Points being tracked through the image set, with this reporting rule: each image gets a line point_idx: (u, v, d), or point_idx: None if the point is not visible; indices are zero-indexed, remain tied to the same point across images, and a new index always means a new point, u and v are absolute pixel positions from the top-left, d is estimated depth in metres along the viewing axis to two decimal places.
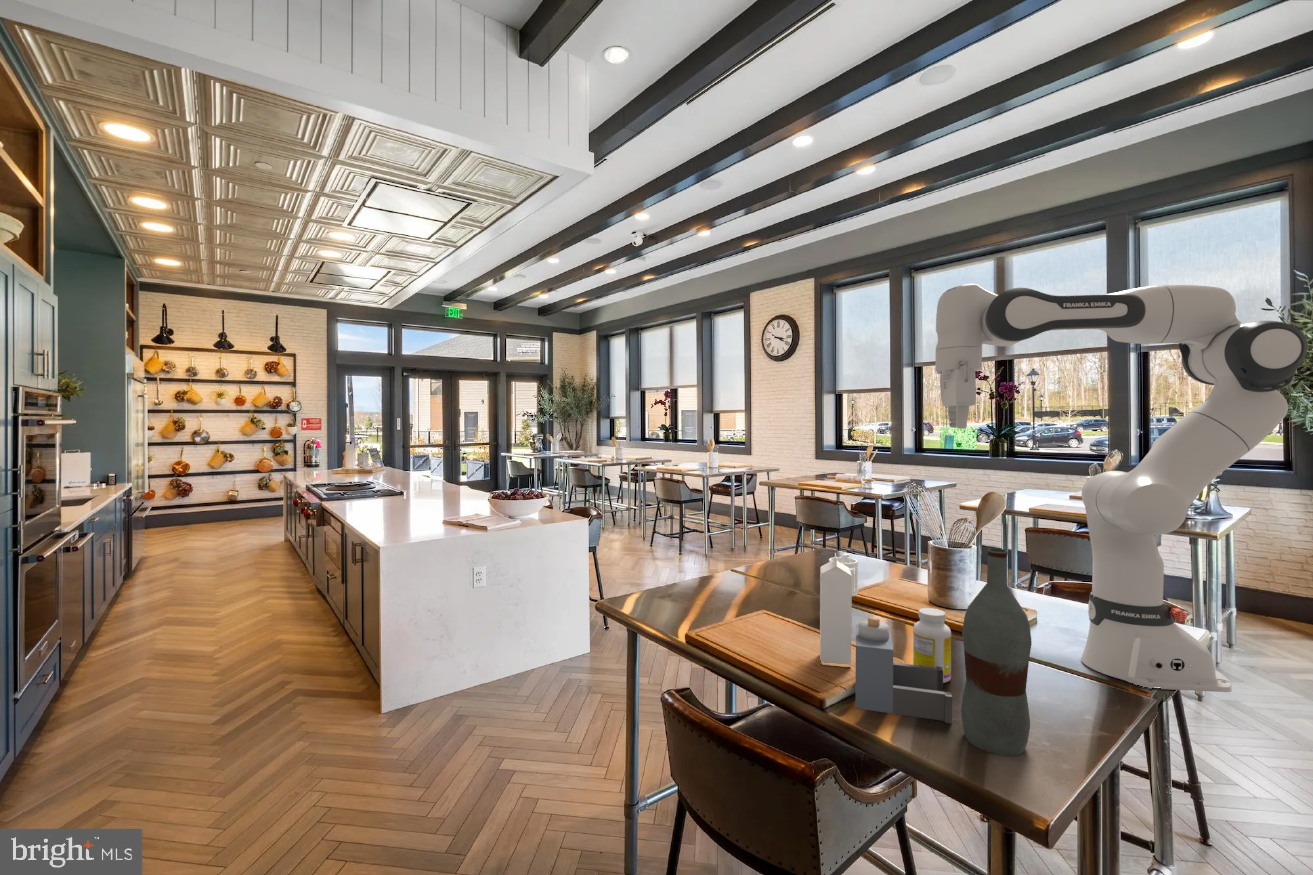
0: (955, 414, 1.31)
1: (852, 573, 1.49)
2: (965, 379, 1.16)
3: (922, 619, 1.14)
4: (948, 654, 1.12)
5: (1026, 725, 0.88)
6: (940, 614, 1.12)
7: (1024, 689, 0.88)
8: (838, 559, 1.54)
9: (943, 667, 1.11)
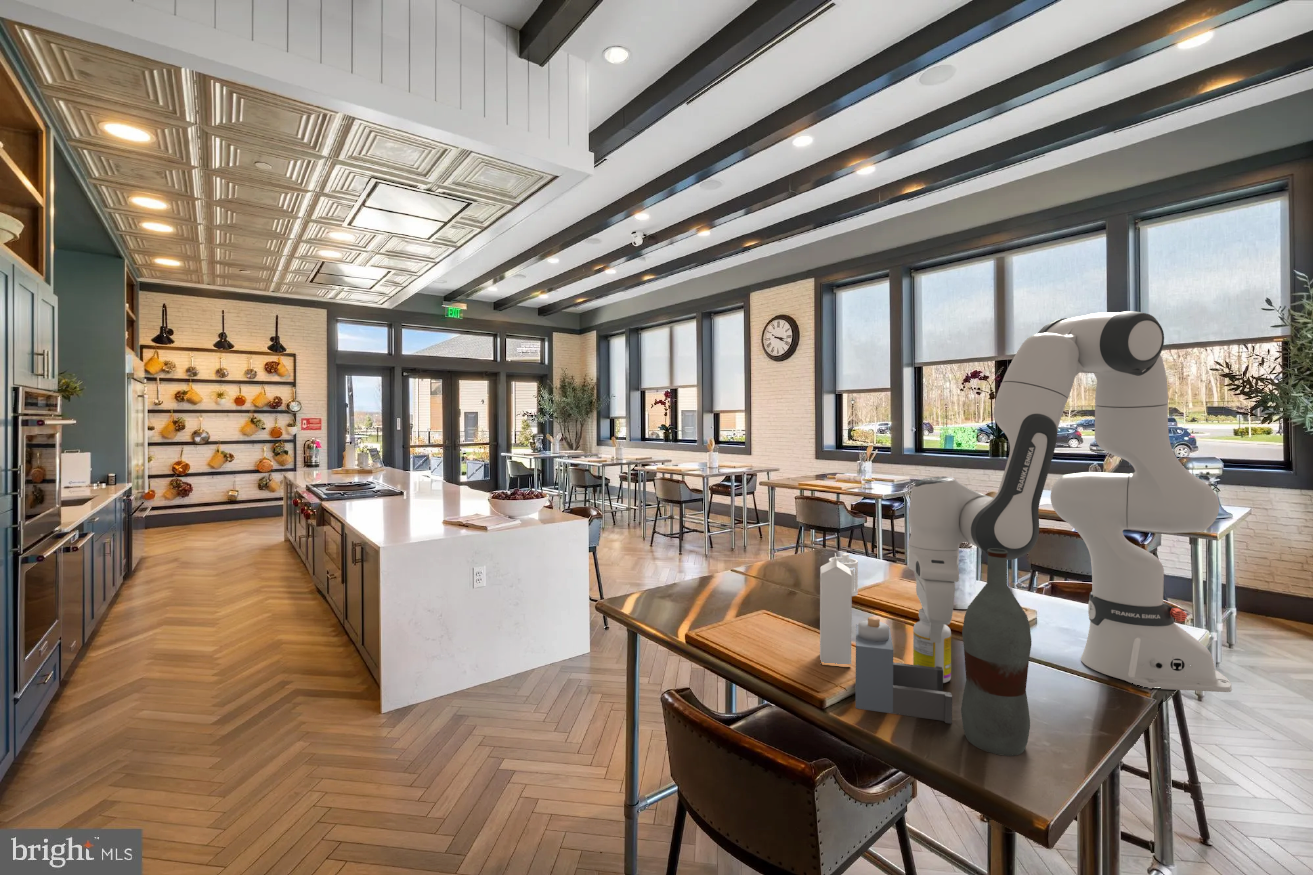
0: None
1: (852, 573, 1.49)
2: None
3: (922, 619, 1.14)
4: (948, 654, 1.12)
5: (1026, 725, 0.88)
6: None
7: (1024, 689, 0.88)
8: (838, 559, 1.54)
9: (943, 667, 1.11)
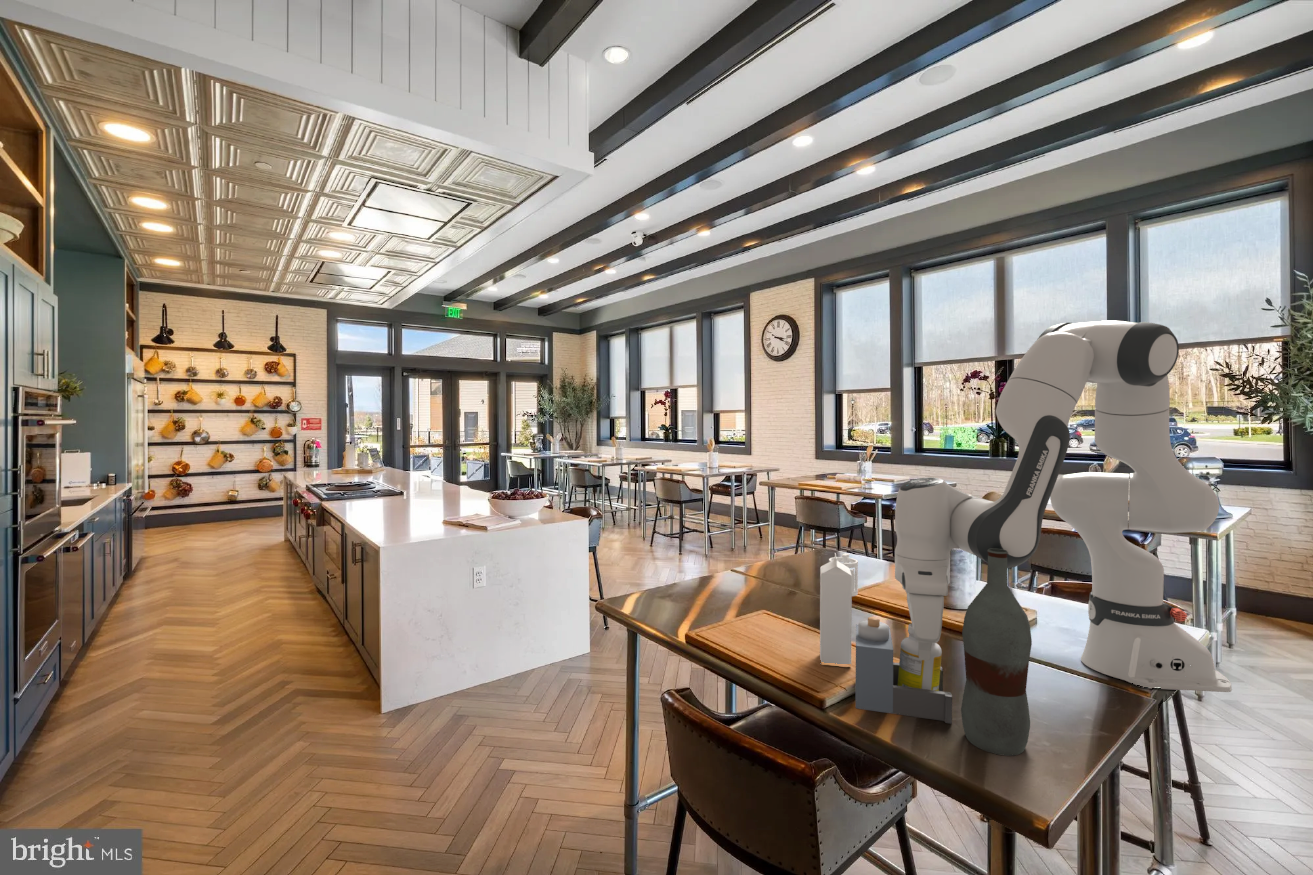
0: None
1: (852, 573, 1.49)
2: None
3: (911, 634, 1.04)
4: (937, 675, 1.02)
5: (1027, 725, 0.88)
6: None
7: (1024, 689, 0.88)
8: (838, 559, 1.54)
9: (931, 688, 1.02)
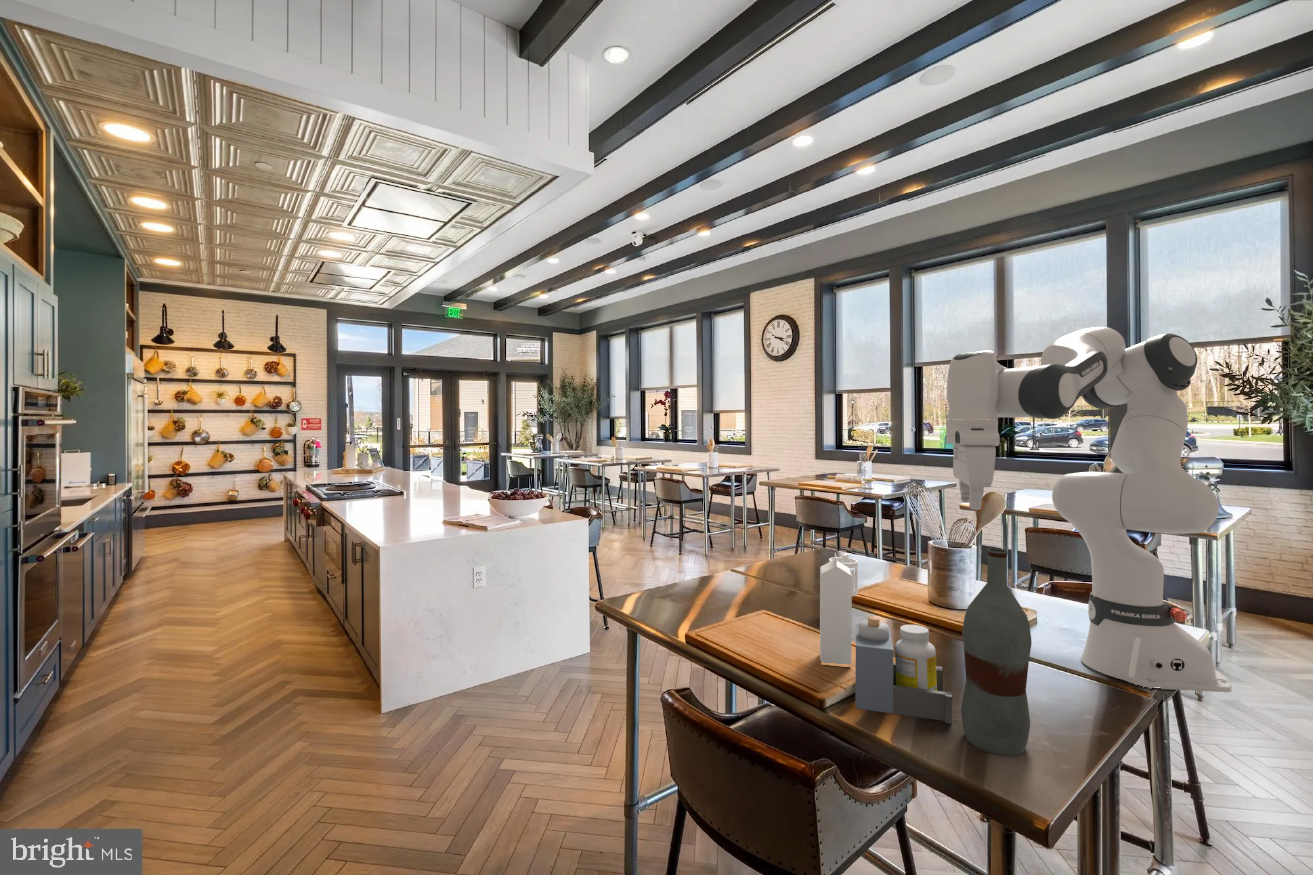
0: None
1: (852, 573, 1.49)
2: None
3: (903, 637, 1.04)
4: (932, 675, 1.02)
5: (1027, 725, 0.88)
6: (922, 632, 1.03)
7: (1024, 689, 0.88)
8: (838, 559, 1.54)
9: (927, 689, 1.02)
